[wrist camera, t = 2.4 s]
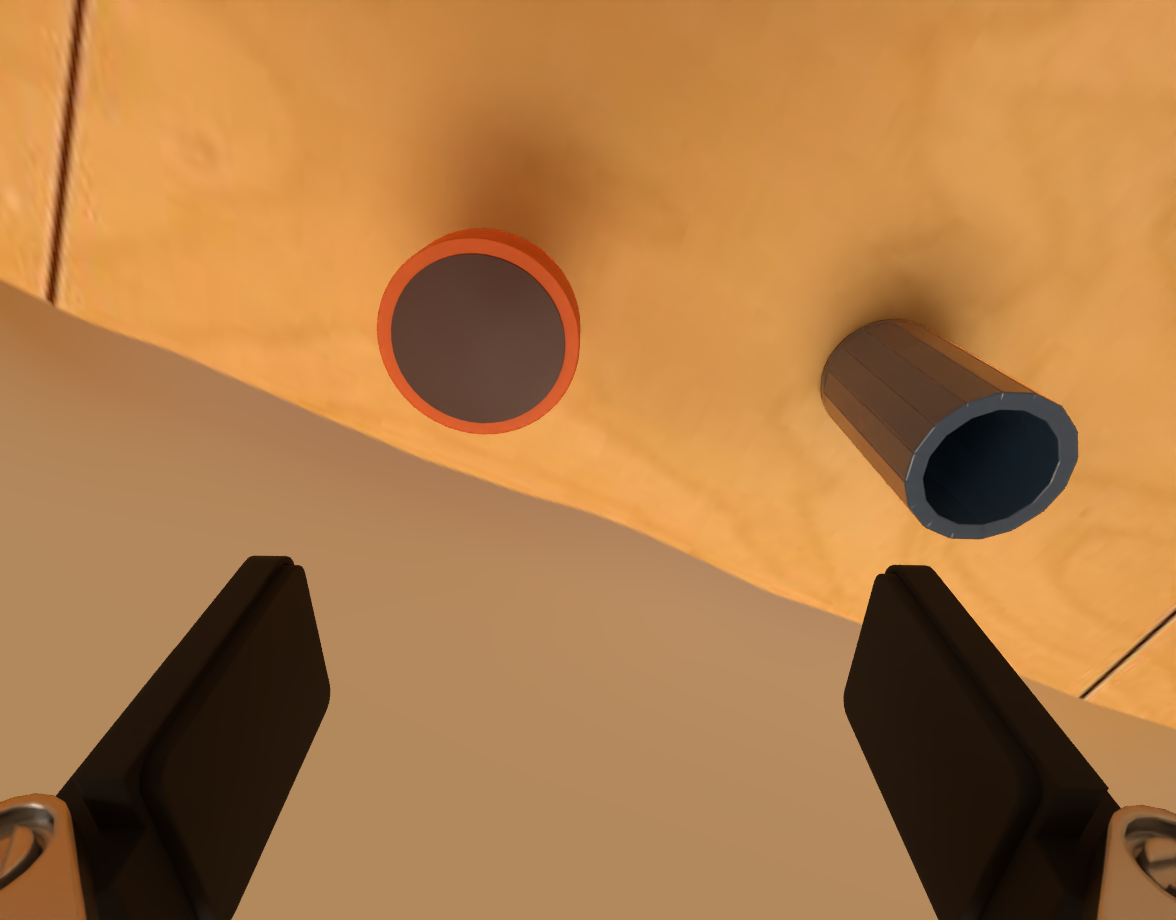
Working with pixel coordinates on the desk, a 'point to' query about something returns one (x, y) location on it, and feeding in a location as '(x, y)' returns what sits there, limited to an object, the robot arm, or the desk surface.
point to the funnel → (480, 331)
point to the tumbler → (948, 429)
